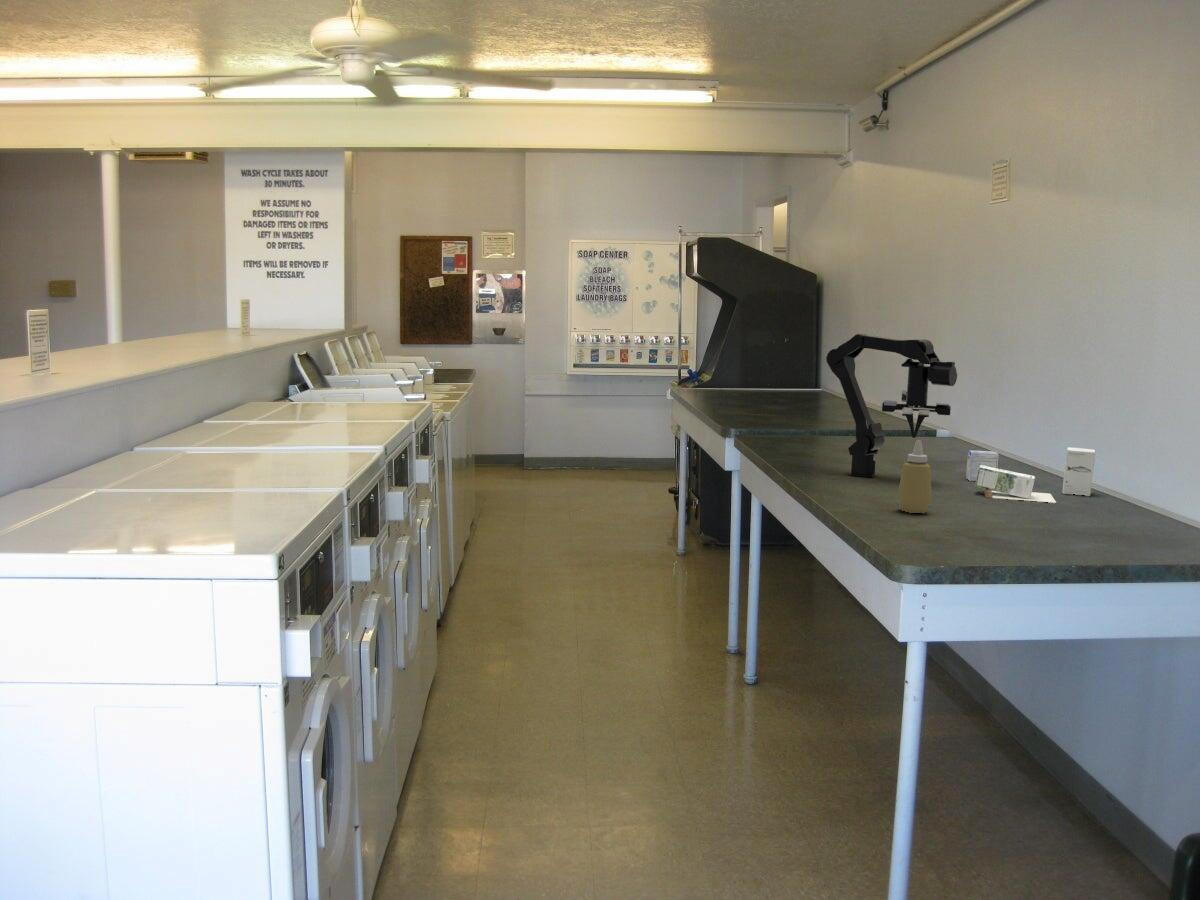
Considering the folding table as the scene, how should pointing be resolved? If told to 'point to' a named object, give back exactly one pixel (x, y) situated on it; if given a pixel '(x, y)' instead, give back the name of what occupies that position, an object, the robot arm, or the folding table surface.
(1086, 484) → the supplement box
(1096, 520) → the folding table surface
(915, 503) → the squeeze bottle
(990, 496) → the strip
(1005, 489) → the syrup box
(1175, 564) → the folding table surface
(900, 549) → the folding table surface
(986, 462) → the medicine box
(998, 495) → the mat
